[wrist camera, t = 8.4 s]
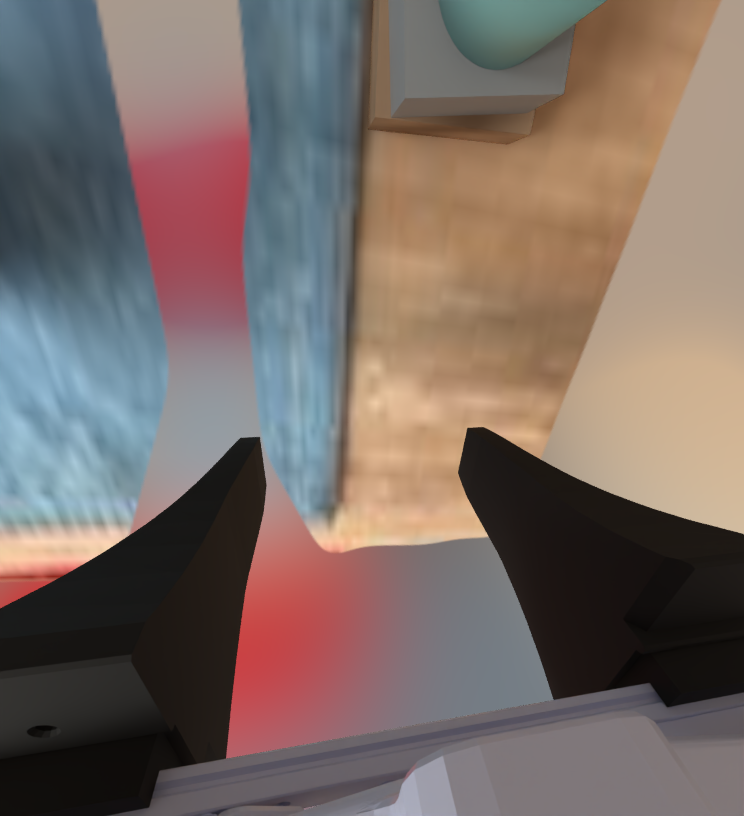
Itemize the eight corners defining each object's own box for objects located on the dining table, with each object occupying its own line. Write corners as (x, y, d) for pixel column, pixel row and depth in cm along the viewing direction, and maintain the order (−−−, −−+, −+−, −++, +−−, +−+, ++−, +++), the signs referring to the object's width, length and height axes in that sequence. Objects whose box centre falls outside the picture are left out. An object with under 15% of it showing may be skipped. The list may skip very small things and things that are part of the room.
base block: (366, 131, 16) (374, 117, 14) (375, -104, 13) (388, -170, 11) (502, 145, 17) (529, 134, 15) (543, -67, 14) (586, -121, 12)
